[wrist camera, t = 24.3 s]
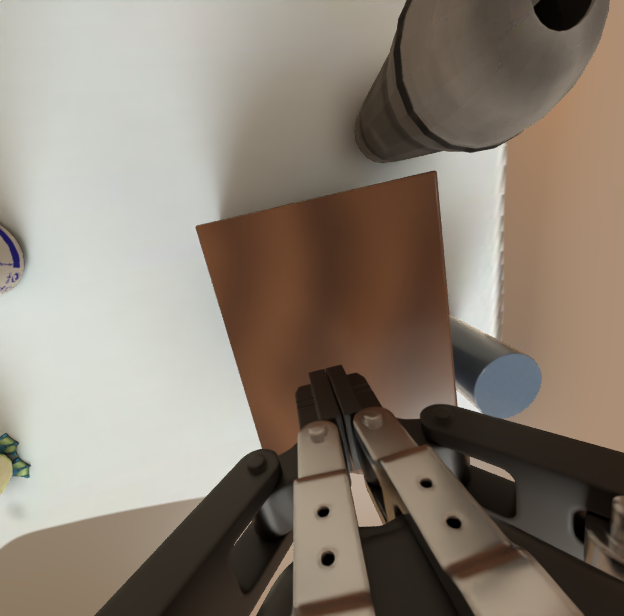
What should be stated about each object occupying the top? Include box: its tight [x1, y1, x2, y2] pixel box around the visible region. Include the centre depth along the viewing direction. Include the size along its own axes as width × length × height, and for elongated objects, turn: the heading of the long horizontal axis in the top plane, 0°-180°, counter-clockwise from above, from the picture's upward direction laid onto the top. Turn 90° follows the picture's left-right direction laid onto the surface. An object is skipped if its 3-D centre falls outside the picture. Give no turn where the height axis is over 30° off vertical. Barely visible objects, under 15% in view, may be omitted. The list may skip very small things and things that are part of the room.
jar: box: [449, 314, 542, 419], centre depth 24 cm, size 4×4×10 cm
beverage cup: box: [355, 0, 610, 163], centre depth 15 cm, size 7×7×20 cm
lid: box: [196, 171, 457, 474], centre depth 17 cm, size 12×16×1 cm
